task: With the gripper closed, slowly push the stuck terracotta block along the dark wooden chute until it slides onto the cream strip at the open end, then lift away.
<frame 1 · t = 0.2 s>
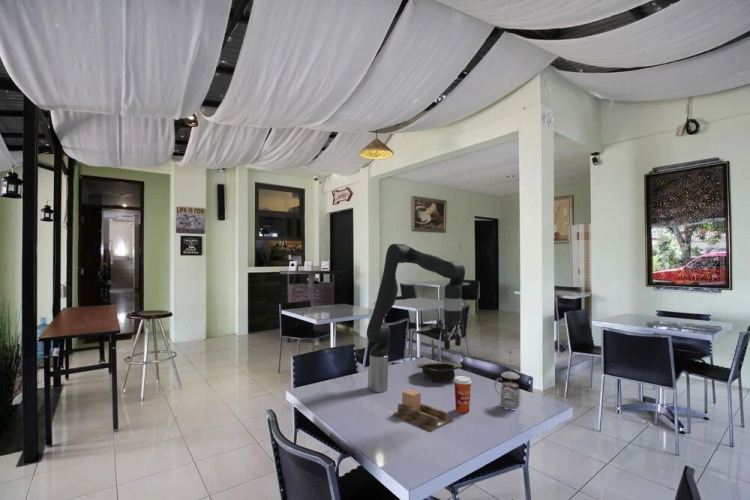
hand: (452, 347, 158), 29 cm above the table, tool pointing down, fingers open, 8 cm apart
chute: (422, 418, 155), on the table
jammed block: (411, 401, 159), point 5 cm above the table, slide at 0.0 cm
paper cup: (462, 411, 163), on the table
french press: (508, 406, 169), on the table
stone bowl: (438, 378, 209), on the table
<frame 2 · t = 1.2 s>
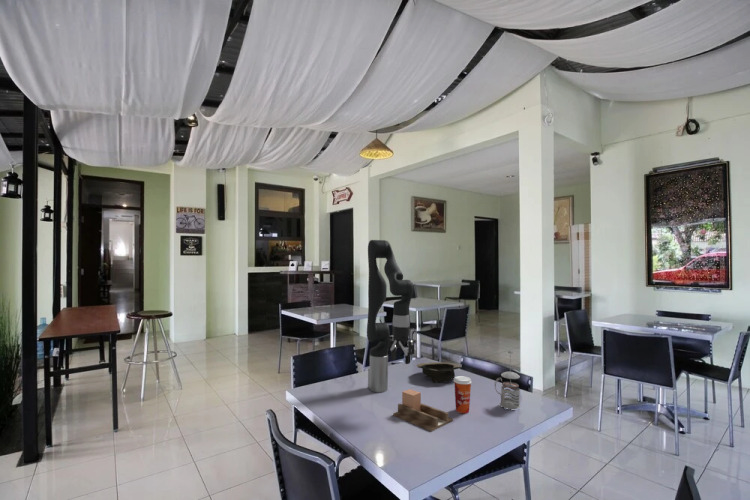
hand: (400, 361, 166), 20 cm above the table, tool pointing down, fingers open, 8 cm apart
nothing on the table moved.
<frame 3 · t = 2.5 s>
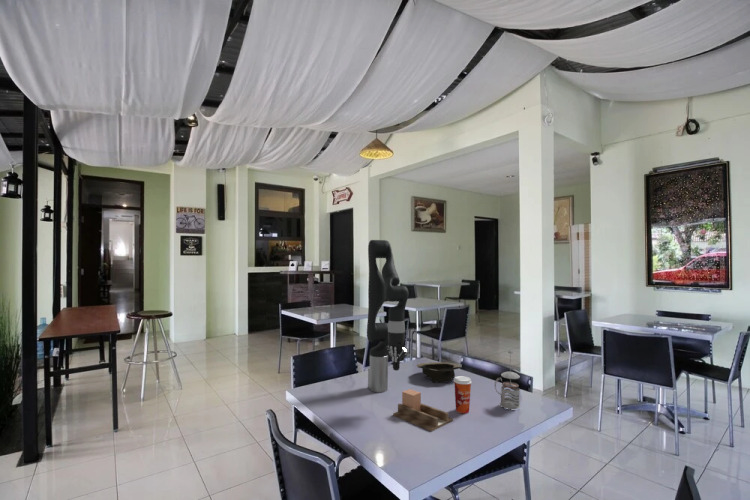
hand: (396, 370, 166), 17 cm above the table, tool pointing down, fingers closed
nothing on the table moved.
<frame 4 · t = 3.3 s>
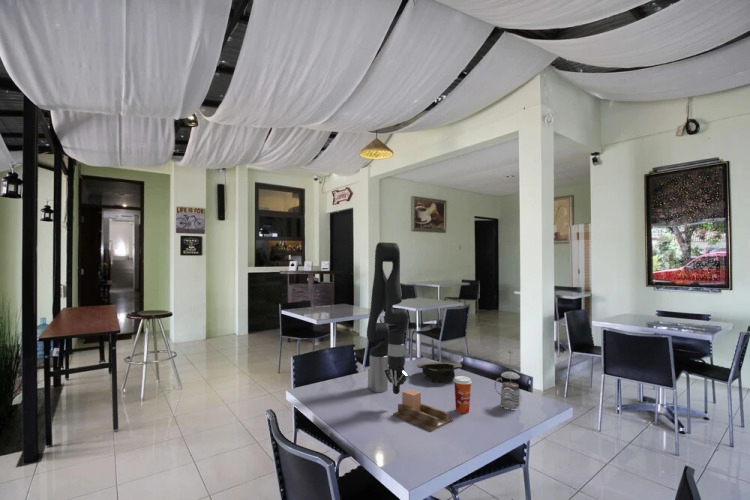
hand: (396, 393, 165), 6 cm above the table, tool pointing down, fingers closed
nothing on the table moved.
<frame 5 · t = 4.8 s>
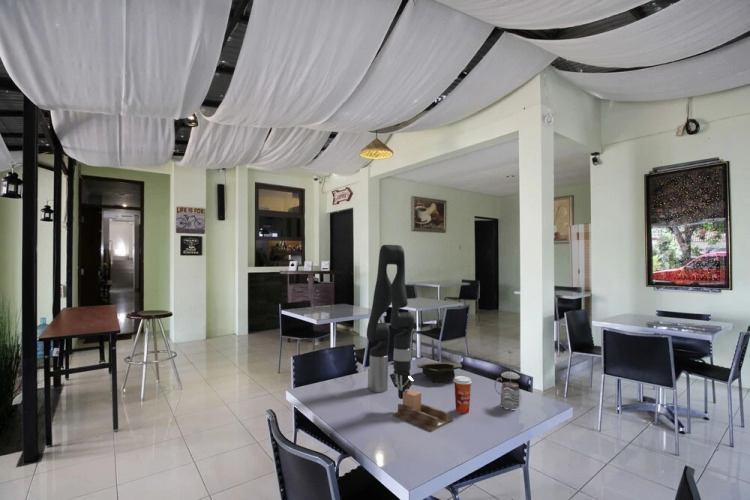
hand: (401, 398, 163), 5 cm above the table, tool pointing down, fingers closed
jammed block: (412, 401, 159), point 5 cm above the table, slide at 0.3 cm, touching gripper
everything else where it was.
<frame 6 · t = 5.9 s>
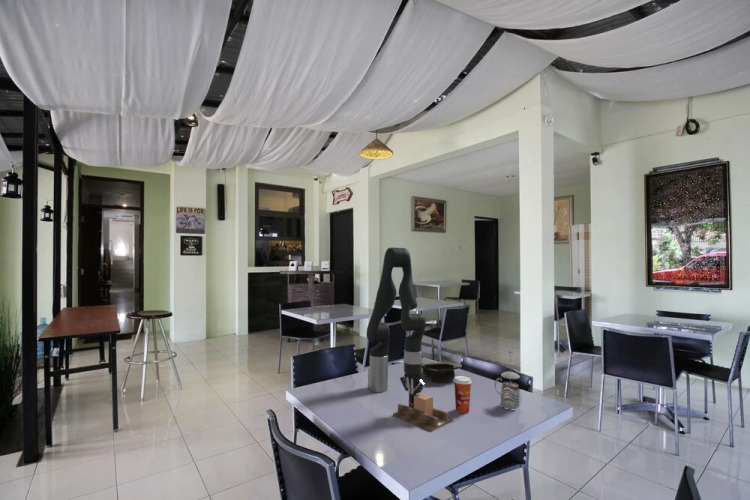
hand: (412, 402, 159), 5 cm above the table, tool pointing down, fingers closed
jammed block: (423, 406, 155), point 5 cm above the table, slide at 6.5 cm, touching gripper
everything else where it was.
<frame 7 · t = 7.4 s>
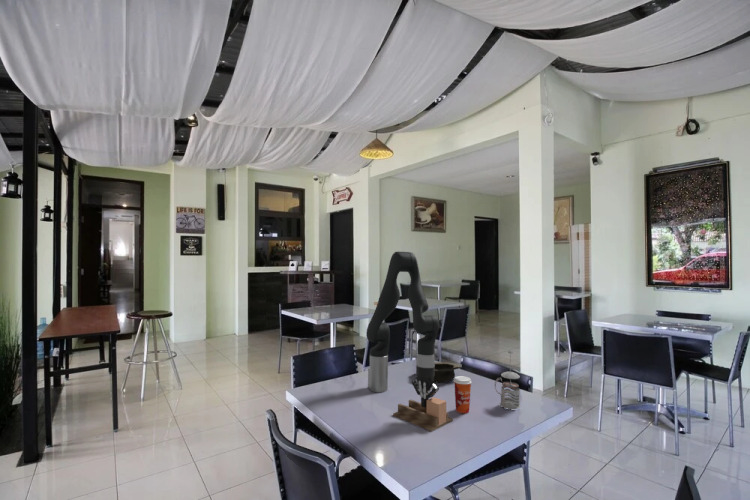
hand: (424, 406, 154), 5 cm above the table, tool pointing down, fingers closed
jammed block: (436, 410, 150), point 5 cm above the table, slide at 13.0 cm, touching gripper
everything else where it was.
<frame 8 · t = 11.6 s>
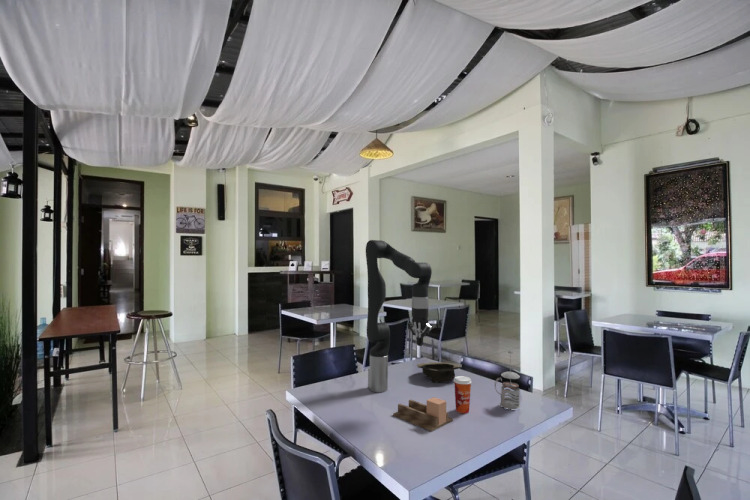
hand: (419, 345, 168), 27 cm above the table, tool pointing down, fingers closed
jammed block: (436, 410, 150), point 5 cm above the table, slide at 13.0 cm
everything else where it was.
at the end: jammed block slide at 13.0 cm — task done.
